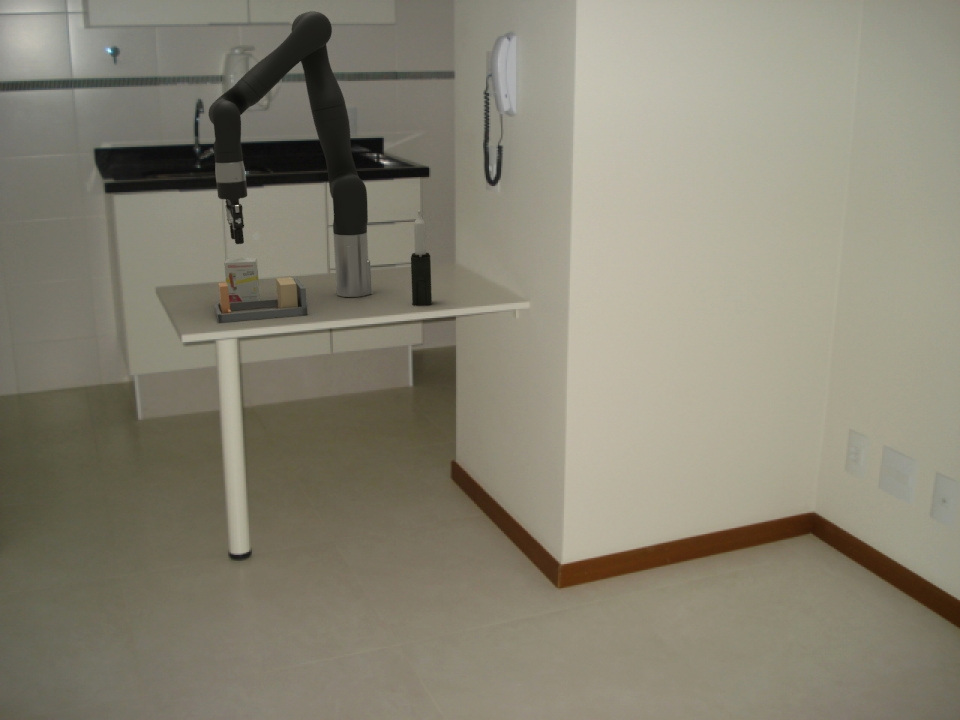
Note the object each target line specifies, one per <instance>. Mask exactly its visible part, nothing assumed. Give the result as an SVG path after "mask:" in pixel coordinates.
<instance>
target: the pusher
mask: <svg viewBox="0 0 960 720" xmlns="http://www.w3.org/2000/svg"><path fill="white" fill-rule="evenodd" d="M218 292H219V294H218V295H219V303H220V306H221V314H226V313H232V311H231V310H230V303H229V292H228V285H227V283H226V281H224V282H218Z"/></svg>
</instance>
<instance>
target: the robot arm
mask: <svg viewBox="0 0 960 720" xmlns="http://www.w3.org/2000/svg"><path fill="white" fill-rule="evenodd" d="M332 28H333V27H332V23H331V21H330V19H329V18H328V16H326V15H325V14H323V13H322V12H319V11H313V10H312V11H306V12H303V13H301V14H299V15H297V16H296V17H295V19H293V22H292V25H291V32H290V34H289V35H288V36H287V37H286V38H285V40H283V41H282V42H281V44H279V46H277V47H276V48H275V49H274V50H273V51H272V52H270V53H269V54H267V55H266V56H265V57H264V58H262V59H261V60H260V61H258V62H257V63H256V64H254V65H253V67H251V68H250V69H249V70H248V71H247V72H246V73H245V74H244V75H243V76H242V77H241V78H240V79H239V80H237V82H236V83H235V84H234V85H233V86H232V87H231V88H230V89H228V90H227V91H226V92H224V93H223V94H222V95H220V96H219V97H218V98H217V99H215V100H214V102H212V104H211V105H210V106H209V109H208V117H209V121H210V122H211V124H213V132H214V139H215V140H214V143H213V154H214V162H215V163H214V165H215V166H214V167H215V170H214V172H215V181H216V190H217V198H218V199H220V200H225V212H226V220H227V223H228V225H229V233H230V239H231V240H234V243H235V245H242V244H244V243H245V240H244V239H245V238H244V228H245V223H244V213H243V212H244V211H243V210H244V207H243V205H242V204H241V203H240V199H244V198H247V197H248V189H247V188H248V187H247V185H248V184H247V176H246V170H245V164H244V157H243V147H242V140H241V137H242V118H241V117H242V116H241V115H243V114H244V113H245V112H246V111H247V110H248V109H250V107H253V106H255V105H256V104H258V103H259V102H260V101H261V100H262V99H263V98H264V97H265V96H266V95H267V94H268V93H270V92H271V90H272V89H273V88H274V87H275V86H276V85H277V84H278V83H279V82H280V81H281V80H282V79H283V78H284V77H285V76H286V75H287V74H288V73H289V72H290V71H291V70H292V69H293V68H294V67H296V66H297V65H298V64H299V63H301V65H302V69H303V74H304V78H305V79H304V80H305V85H306V86H305V87H306V91H307V95H308V96H307V97H308V101H309V107H310V110H311V115H312V119H313V124H314V127H315V130H316V134H317V136H318V137H317V138H318V141H319V142H320V143H319V144H320V146H321V149H322V151H323V155H324V158H325V164H326V170H327V177H328V185H329V193H330V196H331V198H332V206H333V207H332V208H333V223H332V230H333V248H334V267H335V268H334V269H335V284H336V286H335V287H336V295H337V296H338V297H344V298H358V297H364V296H369V295H372V293H373V292H372V291H373V290H372V275H371V274H372V273H371V271H372V270H371V260H370V259H369V248H368V247H369V246H368V243H369V242H368V220H369V218H368V217H369V215H368V213H369V212H368V211H369V210H368V192H367V187H366V184H365V182H364V181H363V180H362V179H361V178H360V177H359V174H358V171H357V168H356V165H355V164H356V163H355V161H354V158H353V154H352V147H351V146H352V145H351V127H350V119H349V113H348V109H347V105H346V100H345V97H344V94H343V92H342V89H341V87H340V84H339V83H338V81H337V78H336V76H335V73H334V72H333V69H332V67H331V64H330V61H329V54H328V47H327V44H328V42H330V40H331V38H332V33H333V29H332Z"/></svg>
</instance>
